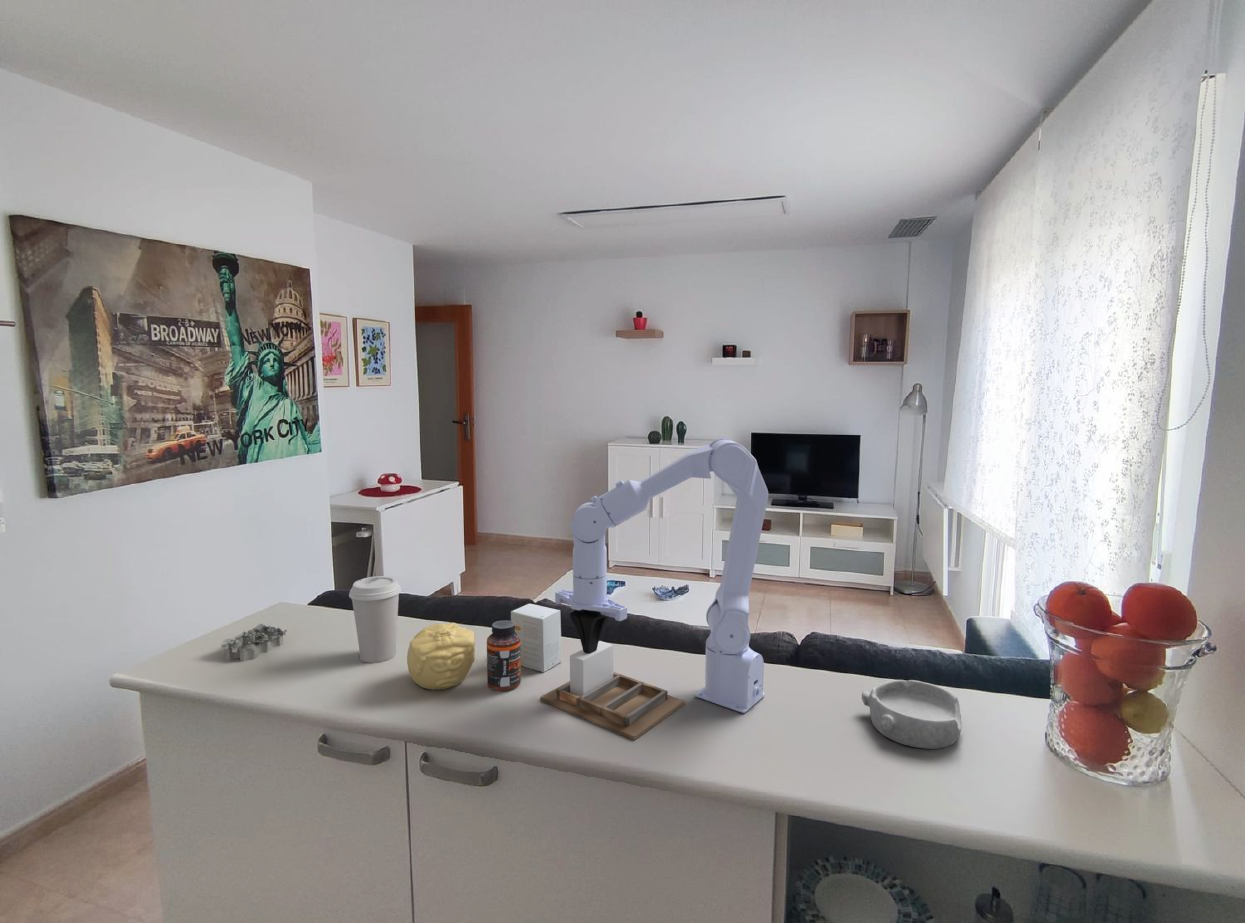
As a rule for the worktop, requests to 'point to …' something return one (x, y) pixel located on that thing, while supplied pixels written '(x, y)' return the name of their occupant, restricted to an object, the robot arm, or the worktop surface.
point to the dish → (915, 713)
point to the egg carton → (253, 642)
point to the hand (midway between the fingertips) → (590, 651)
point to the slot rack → (618, 705)
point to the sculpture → (441, 656)
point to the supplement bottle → (503, 657)
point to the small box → (538, 636)
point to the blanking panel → (591, 669)
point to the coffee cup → (376, 617)
